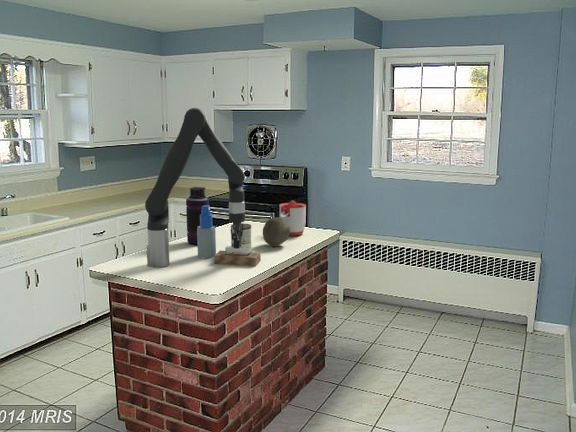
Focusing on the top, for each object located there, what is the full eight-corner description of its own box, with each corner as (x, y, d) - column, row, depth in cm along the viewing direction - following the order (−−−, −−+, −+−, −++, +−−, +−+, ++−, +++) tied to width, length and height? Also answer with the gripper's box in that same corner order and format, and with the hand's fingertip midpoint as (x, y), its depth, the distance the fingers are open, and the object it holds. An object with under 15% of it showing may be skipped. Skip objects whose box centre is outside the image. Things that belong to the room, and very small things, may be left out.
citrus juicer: (271, 235, 314) (271, 200, 310) (289, 229, 328) (289, 196, 324) (294, 238, 305) (294, 203, 301) (311, 233, 319) (311, 199, 315)
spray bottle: (219, 254, 272) (218, 204, 267) (210, 258, 264) (209, 207, 259) (203, 252, 275) (202, 203, 270) (194, 257, 267) (192, 206, 262)
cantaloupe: (268, 250, 281) (268, 221, 278) (259, 243, 294) (258, 216, 291) (293, 247, 287) (294, 219, 284) (283, 241, 299) (283, 214, 296)
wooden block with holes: (214, 263, 256) (214, 255, 255) (220, 258, 265) (220, 250, 264) (255, 266, 252) (255, 257, 251) (260, 260, 261) (260, 252, 260)
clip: (225, 261, 258) (225, 237, 256) (227, 259, 261) (227, 235, 259) (248, 262, 256) (247, 238, 254) (249, 260, 259) (249, 236, 257)
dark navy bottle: (203, 246, 288) (201, 189, 282) (183, 244, 292) (181, 188, 286) (215, 240, 301) (213, 186, 295) (195, 238, 304) (194, 185, 299)
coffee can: (226, 253, 274) (226, 225, 272) (240, 249, 282) (239, 222, 280) (242, 256, 268) (242, 228, 266) (255, 252, 277) (255, 225, 274)
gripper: (233, 208, 261) (234, 243, 265) (224, 213, 248) (225, 250, 251) (248, 208, 260) (249, 244, 263) (240, 214, 246) (241, 251, 250)
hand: (237, 247), depth 257 cm, fingers closed on clip, 3 cm apart
